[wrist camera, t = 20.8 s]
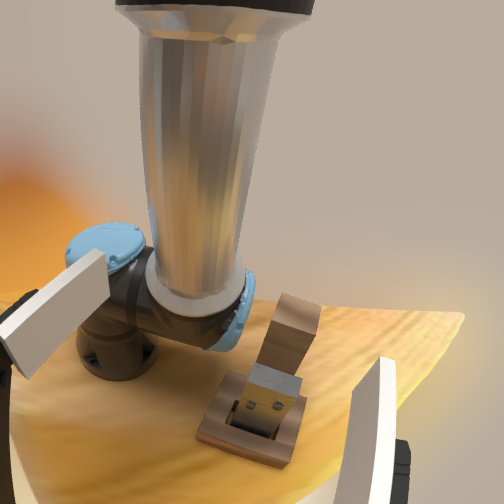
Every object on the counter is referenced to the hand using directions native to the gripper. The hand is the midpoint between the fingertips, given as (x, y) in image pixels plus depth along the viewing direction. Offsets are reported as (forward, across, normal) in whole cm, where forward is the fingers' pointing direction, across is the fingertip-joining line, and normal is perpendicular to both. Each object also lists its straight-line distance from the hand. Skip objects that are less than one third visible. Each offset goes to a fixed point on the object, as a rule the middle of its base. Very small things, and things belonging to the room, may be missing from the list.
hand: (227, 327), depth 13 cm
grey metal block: (+12, +4, -35) cm, 37 cm away
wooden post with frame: (+16, +4, -35) cm, 39 cm away
